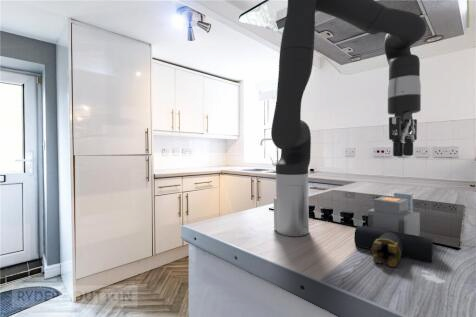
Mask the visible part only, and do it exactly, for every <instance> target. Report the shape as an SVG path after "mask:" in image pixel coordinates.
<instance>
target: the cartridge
mask: <svg viewBox="0 0 476 317" xmlns="http://www.w3.org/2000/svg"><path fill="white" fill-rule="evenodd" d="M393 198H400V199H408V211H413V198H414V197H413V193H408V192H407V193H405V192H394V193H393ZM413 212H414V211H413Z"/></svg>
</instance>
